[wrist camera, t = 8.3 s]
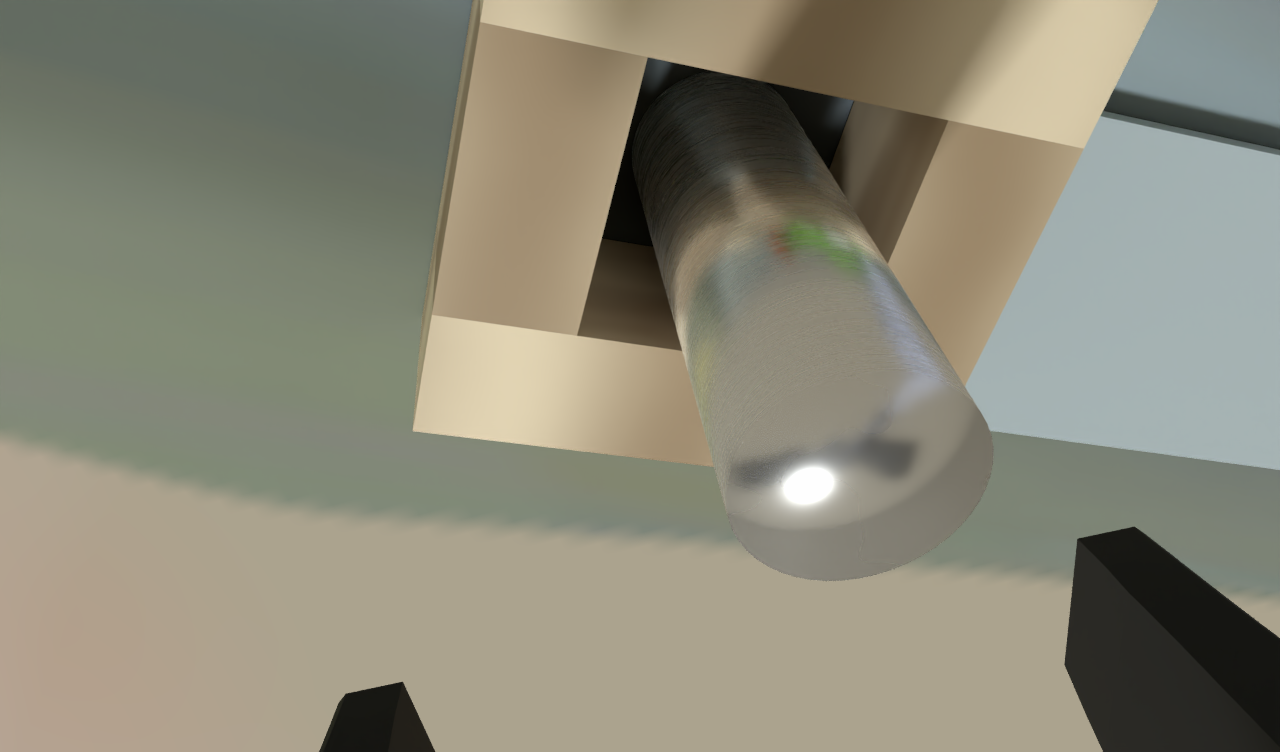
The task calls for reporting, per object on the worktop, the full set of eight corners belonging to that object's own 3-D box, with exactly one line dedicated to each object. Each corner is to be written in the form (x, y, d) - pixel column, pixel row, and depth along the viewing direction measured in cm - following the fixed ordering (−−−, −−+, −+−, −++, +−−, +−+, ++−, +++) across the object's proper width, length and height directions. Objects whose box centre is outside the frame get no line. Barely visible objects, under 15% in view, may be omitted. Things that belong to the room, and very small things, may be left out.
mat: (1503, 199, 22) (1518, 207, 21) (1304, 463, 26) (1315, 474, 25) (1074, 104, 19) (1084, 112, 19) (925, 411, 23) (932, 423, 23)
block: (1050, -64, 18) (1159, -2, 15) (858, 379, 22) (912, 490, 20) (505, -206, 16) (511, -167, 13) (422, 317, 20) (412, 431, 18)
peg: (823, 93, 19) (1042, 397, 11) (763, 243, 20) (923, 594, 13) (660, 51, 18) (784, 348, 11) (611, 210, 20) (690, 564, 12)
